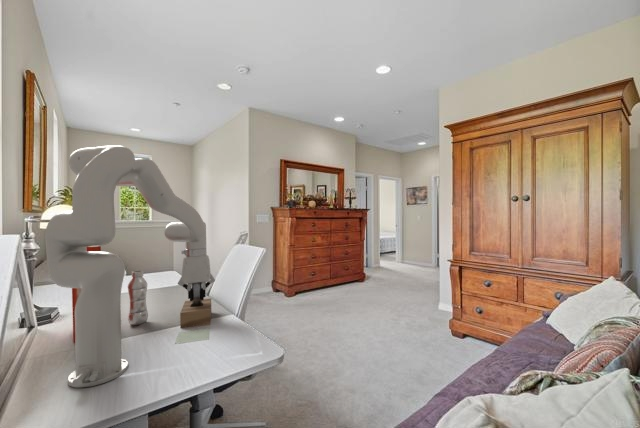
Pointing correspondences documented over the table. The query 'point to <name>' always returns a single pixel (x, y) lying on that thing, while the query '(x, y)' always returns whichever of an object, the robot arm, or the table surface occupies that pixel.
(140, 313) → the plastic bottle
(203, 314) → the hole block
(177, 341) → the mat
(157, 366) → the table surface
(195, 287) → the peg
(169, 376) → the table surface
